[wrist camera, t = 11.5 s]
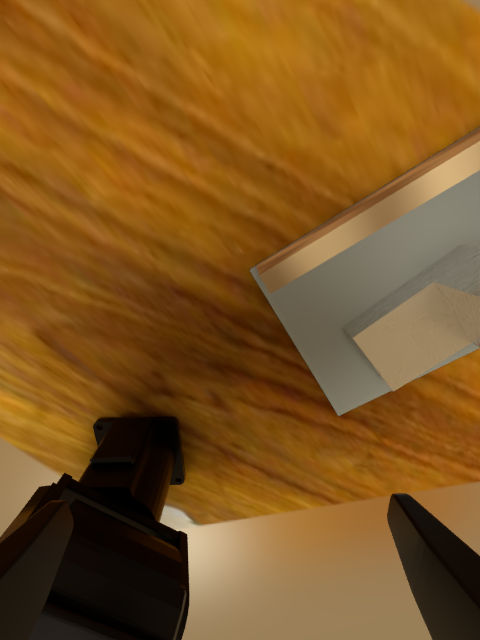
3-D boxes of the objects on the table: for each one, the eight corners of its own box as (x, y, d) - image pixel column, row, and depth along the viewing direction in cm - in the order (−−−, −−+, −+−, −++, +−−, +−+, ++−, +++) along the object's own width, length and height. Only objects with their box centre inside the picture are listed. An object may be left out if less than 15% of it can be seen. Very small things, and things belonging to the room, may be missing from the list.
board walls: (324, 380, 22) (340, 409, 18) (255, 264, 19) (258, 275, 15) (532, 274, 19) (594, 285, 16) (488, 121, 16) (552, 96, 13)
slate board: (336, 411, 23) (338, 416, 22) (249, 269, 19) (249, 270, 18) (551, 307, 20) (559, 309, 19) (497, 115, 16) (505, 112, 16)
